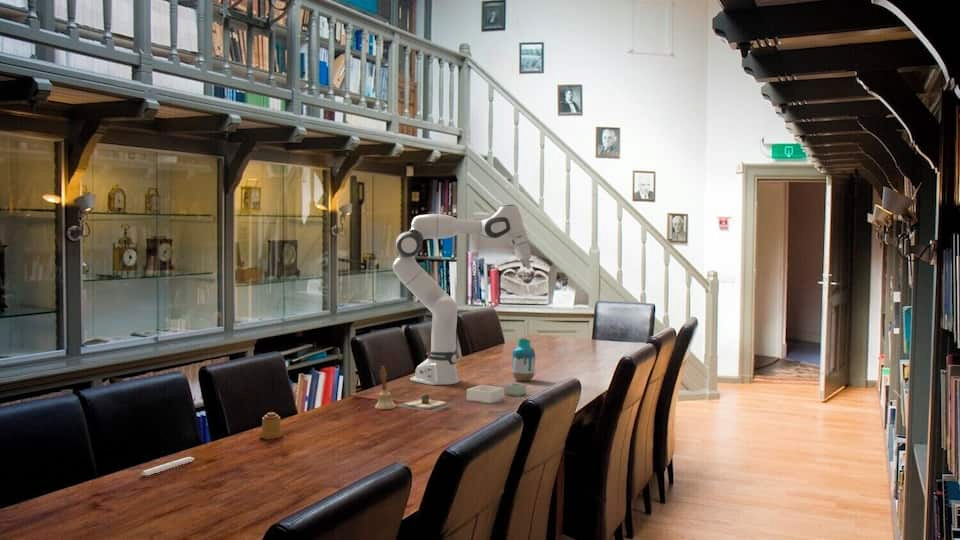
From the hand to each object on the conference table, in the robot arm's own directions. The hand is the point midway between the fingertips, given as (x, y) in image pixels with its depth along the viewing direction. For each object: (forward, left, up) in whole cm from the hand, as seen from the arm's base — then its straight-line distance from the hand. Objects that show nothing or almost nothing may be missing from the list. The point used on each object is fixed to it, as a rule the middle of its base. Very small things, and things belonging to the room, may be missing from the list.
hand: (527, 267), depth 366 cm
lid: (-7, -68, -51) cm, 85 cm away
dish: (+7, -46, -52) cm, 69 cm away
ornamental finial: (-22, -134, -52) cm, 145 cm away
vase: (-1, 0, -52) cm, 52 cm away
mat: (-7, -68, -52) cm, 85 cm away
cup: (+11, -28, -52) cm, 60 cm away
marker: (-20, -175, -52) cm, 183 cm away
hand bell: (-18, -79, -52) cm, 96 cm away
